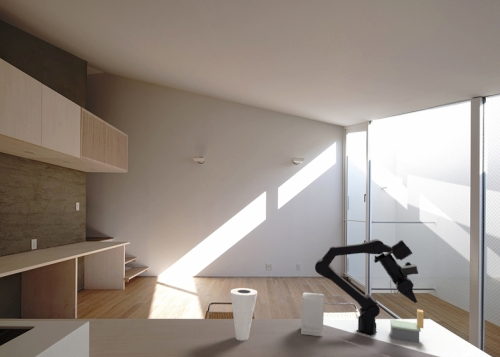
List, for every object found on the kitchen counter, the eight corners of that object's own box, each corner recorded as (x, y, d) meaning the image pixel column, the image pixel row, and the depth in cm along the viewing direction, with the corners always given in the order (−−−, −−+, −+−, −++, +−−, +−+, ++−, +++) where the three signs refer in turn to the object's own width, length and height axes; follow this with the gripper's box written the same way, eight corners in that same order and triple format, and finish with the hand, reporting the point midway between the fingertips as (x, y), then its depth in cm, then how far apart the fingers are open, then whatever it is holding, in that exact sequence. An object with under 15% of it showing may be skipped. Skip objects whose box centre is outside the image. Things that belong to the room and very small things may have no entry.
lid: (391, 329, 142) (391, 309, 143) (390, 323, 150) (390, 304, 151) (424, 334, 139) (424, 314, 139) (421, 327, 147) (421, 308, 147)
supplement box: (323, 337, 142) (324, 299, 143) (300, 334, 144) (301, 297, 145) (322, 329, 151) (324, 293, 152) (301, 326, 153) (303, 291, 154)
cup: (259, 336, 140) (261, 290, 141) (248, 346, 131) (250, 296, 132) (236, 331, 145) (238, 286, 146) (223, 340, 135) (225, 292, 136)
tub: (391, 339, 142) (392, 327, 143) (390, 333, 150) (390, 321, 150) (419, 344, 139) (419, 331, 139) (416, 336, 147) (416, 324, 147)
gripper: (412, 259, 138) (437, 295, 135) (404, 253, 156) (426, 284, 153) (387, 274, 140) (411, 309, 137) (382, 266, 158) (404, 297, 155)
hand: (414, 299), depth 145 cm, fingers open, 9 cm apart
